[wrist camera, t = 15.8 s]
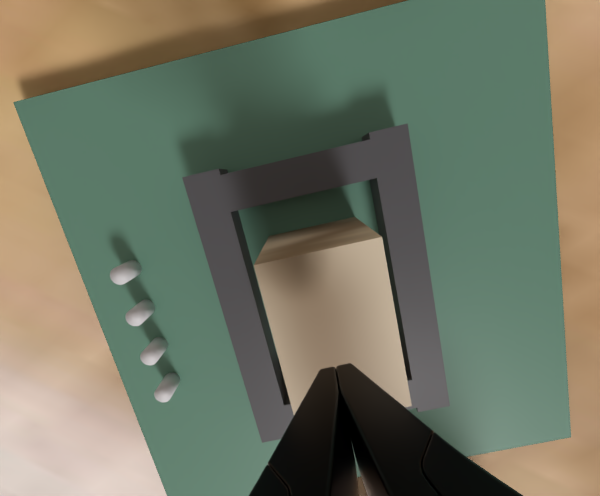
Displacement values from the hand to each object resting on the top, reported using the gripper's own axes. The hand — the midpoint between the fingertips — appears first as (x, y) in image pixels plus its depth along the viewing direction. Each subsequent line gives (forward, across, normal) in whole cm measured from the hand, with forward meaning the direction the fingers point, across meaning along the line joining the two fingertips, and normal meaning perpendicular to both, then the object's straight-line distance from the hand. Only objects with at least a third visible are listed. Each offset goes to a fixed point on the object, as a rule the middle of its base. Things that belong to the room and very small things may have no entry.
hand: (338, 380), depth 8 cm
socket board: (+8, 0, 0) cm, 8 cm away
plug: (+7, 0, 0) cm, 7 cm away
